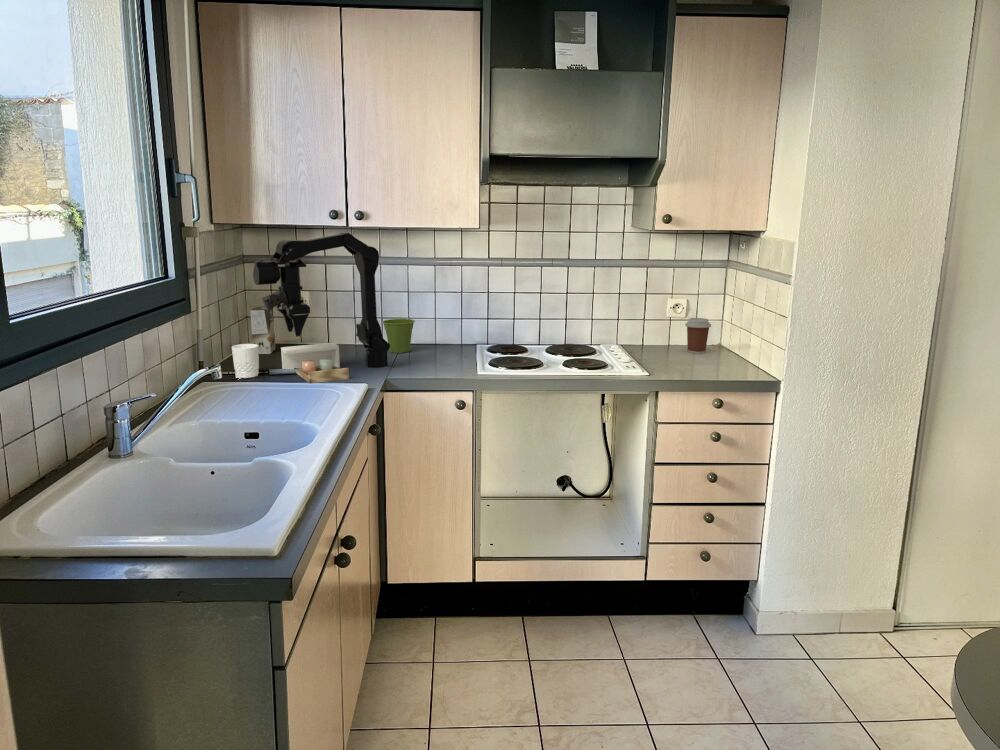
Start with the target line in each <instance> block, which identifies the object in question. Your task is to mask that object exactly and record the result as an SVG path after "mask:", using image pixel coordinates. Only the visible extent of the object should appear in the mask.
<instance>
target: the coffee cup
mask: <svg viewBox="0 0 1000 750" xmlns="http://www.w3.org/2000/svg"><path fill="white" fill-rule="evenodd" d="M684 325H685V327H686V334H687V335H686V336H687V338H686V339H687V342H686V343H687V344H686V345H687V352H688V353H689V354H690V353H691V354H705V353H706V350H707V344H708V338H709V331H710V328H711V327H712V323H710V322H709V319H708V318H704V317H690V318H688V321H687V322H685V324H684Z"/></svg>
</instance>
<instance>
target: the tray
mask: <svg viewBox="0 0 1000 750" xmlns="http://www.w3.org/2000/svg"><path fill="white" fill-rule="evenodd" d="M295 371H296V372H295V373H296V375H298V377H299V376H300V377H301V378H302V379H304V380H305V381H306V382H307V383H309V384H316V383H324V382H326V383H327V382H335V381H342V380H350V372H349V371H350V369H349V367H344V368H341V367H340V368H337V367H335V366H334V365H333V370H324V371H320V366H318V367H316V371H315V372H309V375H306V374H305V373H303V370H302V368H299V369H295Z"/></svg>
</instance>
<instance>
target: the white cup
mask: <svg viewBox="0 0 1000 750" xmlns="http://www.w3.org/2000/svg"><path fill="white" fill-rule="evenodd" d="M231 353H232V359H233V360H232V361H233V369H234V374H235V379H236V378H239V379H242V378H243V379H247V378H255V377H257V376H259V375H258V374H259V369H260V357H259V355H260V354H259V346H258V345H257V344H253V343H240V344H239V343H238V344H234V345H232V346H231ZM239 379H238V380H239Z"/></svg>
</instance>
